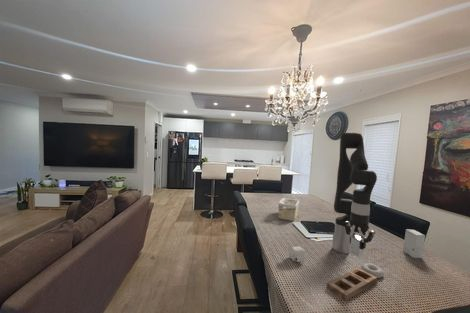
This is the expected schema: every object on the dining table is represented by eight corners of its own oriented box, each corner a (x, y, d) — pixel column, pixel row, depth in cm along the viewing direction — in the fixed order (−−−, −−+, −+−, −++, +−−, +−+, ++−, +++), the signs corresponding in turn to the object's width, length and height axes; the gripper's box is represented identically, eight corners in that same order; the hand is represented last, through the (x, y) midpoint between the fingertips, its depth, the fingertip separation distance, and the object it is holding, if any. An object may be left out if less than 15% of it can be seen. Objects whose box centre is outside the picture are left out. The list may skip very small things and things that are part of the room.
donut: (356, 270, 111) (375, 281, 102) (357, 264, 111) (376, 274, 102) (368, 266, 115) (388, 276, 106) (369, 260, 115) (388, 270, 106)
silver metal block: (349, 252, 100) (350, 236, 99) (354, 250, 102) (356, 234, 101) (358, 257, 96) (359, 240, 95) (363, 254, 98) (364, 238, 97)
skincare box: (402, 251, 134) (404, 228, 133) (411, 251, 134) (413, 229, 133) (413, 258, 126) (415, 234, 125) (423, 258, 126) (425, 234, 125)
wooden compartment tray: (326, 288, 95) (327, 282, 95) (358, 273, 108) (358, 267, 108) (345, 302, 87) (346, 294, 87) (376, 283, 100) (377, 276, 100)
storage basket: (282, 211, 206) (283, 197, 205) (299, 214, 199) (299, 199, 199) (276, 219, 184) (277, 202, 183) (295, 222, 178) (296, 205, 177)
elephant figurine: (295, 267, 111) (296, 251, 111) (284, 255, 123) (285, 241, 122) (310, 265, 114) (311, 249, 113) (298, 253, 125) (299, 239, 125)
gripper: (341, 208, 101) (338, 241, 103) (371, 218, 89) (368, 256, 91) (350, 206, 105) (347, 238, 107) (380, 215, 93) (377, 252, 94)
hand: (357, 246), depth 99 cm, fingers closed on silver metal block, 4 cm apart
